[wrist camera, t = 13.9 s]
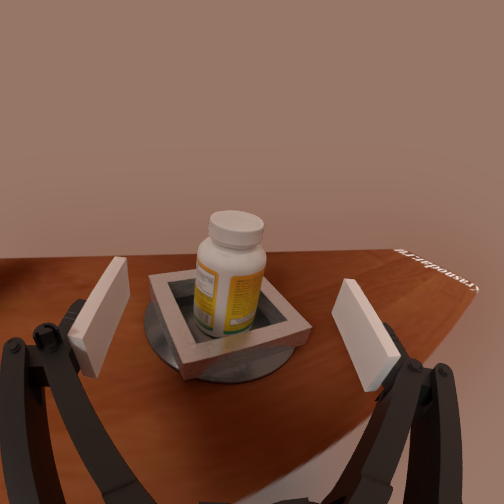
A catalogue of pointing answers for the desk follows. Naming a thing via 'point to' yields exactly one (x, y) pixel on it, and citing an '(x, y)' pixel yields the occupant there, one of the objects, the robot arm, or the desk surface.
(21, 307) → the desk surface
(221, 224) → the supplement bottle
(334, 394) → the desk surface
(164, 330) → the socket
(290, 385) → the desk surface
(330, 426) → the desk surface
